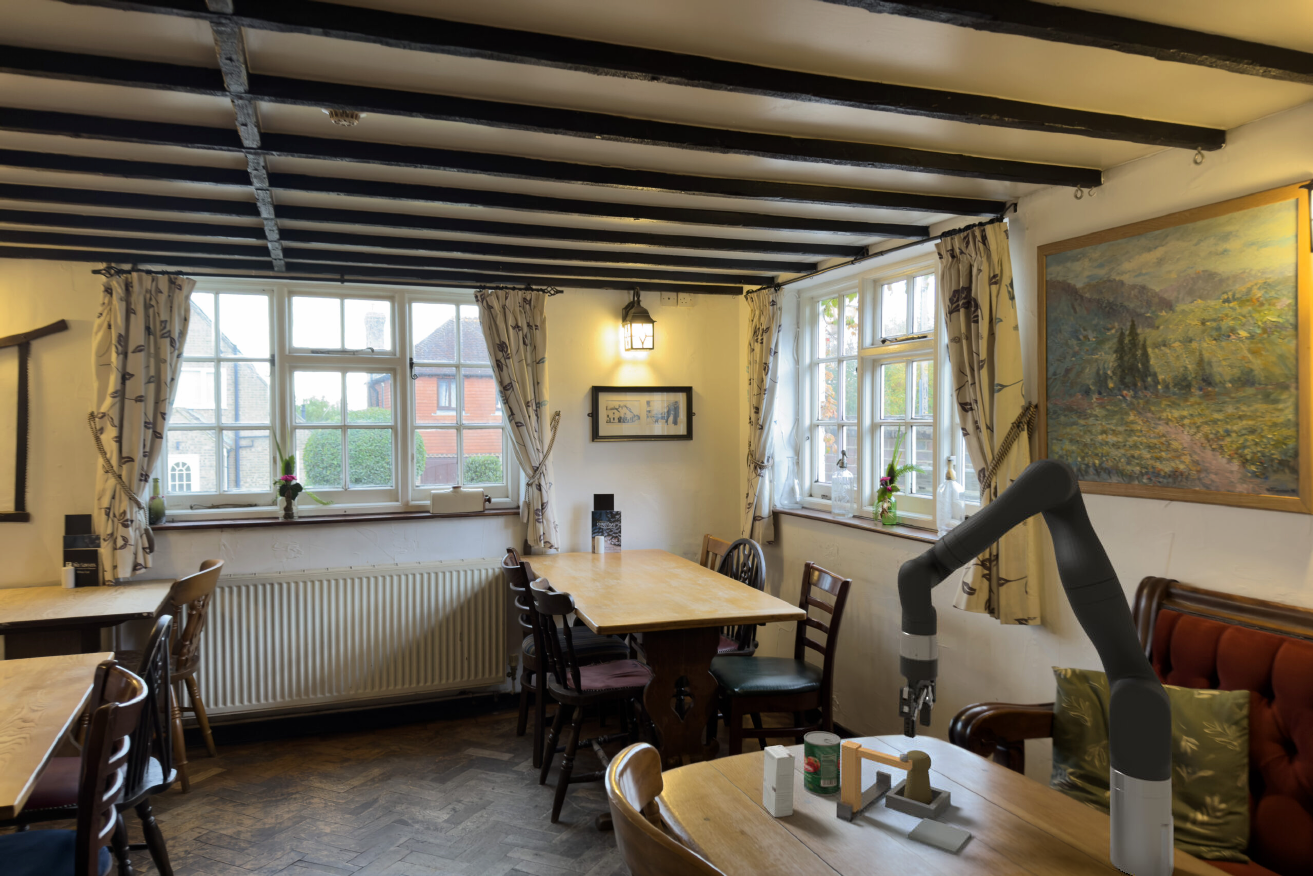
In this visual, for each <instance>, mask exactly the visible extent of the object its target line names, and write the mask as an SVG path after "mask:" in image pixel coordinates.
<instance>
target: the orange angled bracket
mask: <svg viewBox="0 0 1313 876" xmlns="http://www.w3.org/2000/svg"><path fill="white" fill-rule="evenodd" d="M840 747H841V749H840V752H841V753H840V801H841V802H844V803H847V804H850V805H853V812H856V811H857V810H859V809H860V808H861V794H862V759H865V760H869V761H872V762H876V763H879V764H882V765H886V766H890V767H893V768H897V769H899V770H903V771H906V772H907V771H910V770H911V769H912V761H910V760H908V755H906V754H907V753H900V754H899V756H896V755H892V754H889V753H886V752H885V753H884V752H881V751H878V750H874V749H870V748H867V747H863V746H862V744H861V743H859V742H855V741H852V740H846V741H845V742H843V743H842V744H840Z"/></svg>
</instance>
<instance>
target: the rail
mask: <svg viewBox="0 0 1313 876" xmlns="http://www.w3.org/2000/svg"><path fill="white" fill-rule="evenodd" d="M875 773H876V774H875V777H876V778H875V779H876V781H875V782H874V783H873V784H872V785H871V786H869V787H868V788H866V790H864V791H863V792H861V808H860V809H859V810H857V811H856V812H853V805H850V804H847V803H844V802H841V800H838V801H836V818H837V819H840V820H843V821H846V822H848V823H852V822H853V821H854V820H855V819H856V818H857V817H858V816H860V815H861V814H862V813H863V812H865V811H866V810H867V809H868V808H869V807H871V806H872V805H873V804H874V803H875V802H876V801H878V800H879V799H880V798H881V797H882V796H885V794H886V793H887V792H889V791H890V790H891V789H892V774H891V773H888V772H884V771H881V770H877V771H875Z"/></svg>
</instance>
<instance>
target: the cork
mask: <svg viewBox="0 0 1313 876" xmlns="http://www.w3.org/2000/svg"><path fill="white" fill-rule="evenodd" d="M905 754H906V755H908V760H910V761H912V769H911V770H910V771H906V778H905V779H906V785H905V792H904V798H908V799H911V800H914V801H917V802H920V803H924V804H927V805H930V804H931V803H932V802H933V801H932V794H931V787H932V786H931V780H930V773H929V772H930V769H931V767H932V759H931V757H930V754H928V753H927V752H925V751H922V750H916V749H913V750H909V751H907V752H906V753H905Z"/></svg>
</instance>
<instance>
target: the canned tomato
mask: <svg viewBox="0 0 1313 876" xmlns="http://www.w3.org/2000/svg"><path fill="white" fill-rule="evenodd" d="M803 739H804V740H803V741H804V742H803V743H804V744H803V747H804V748H803V789H804V790H805V791H806V792H808V793H809V792H810V794H812V795H814V794H815V796H819V795H820V797H832V796H836V795H838V794H839V793H841V741H842V740H841V737H840V736H838V735H837V734H835V733H832V732H828V731H820V730H819V731H818V730H816V731H810V732H807V733H805V734H804V735H803Z"/></svg>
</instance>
